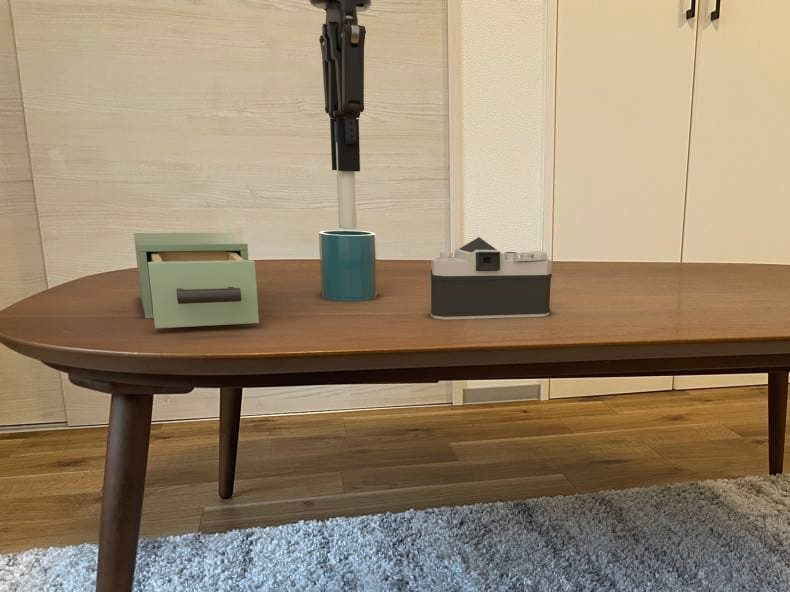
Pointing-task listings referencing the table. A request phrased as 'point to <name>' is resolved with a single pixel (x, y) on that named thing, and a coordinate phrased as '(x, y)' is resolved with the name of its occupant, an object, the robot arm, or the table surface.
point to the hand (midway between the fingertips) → (345, 170)
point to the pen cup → (348, 265)
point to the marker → (346, 195)
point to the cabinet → (178, 243)
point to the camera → (489, 283)
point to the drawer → (202, 289)
